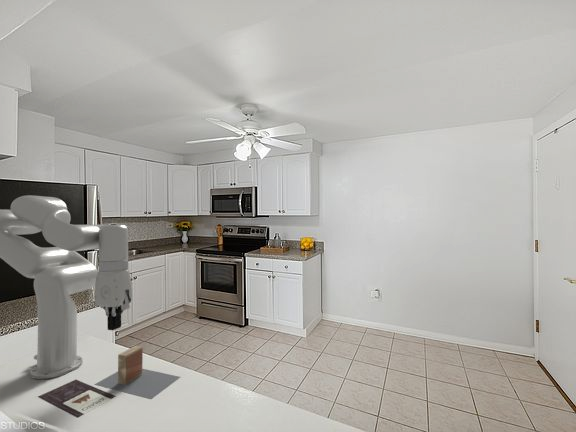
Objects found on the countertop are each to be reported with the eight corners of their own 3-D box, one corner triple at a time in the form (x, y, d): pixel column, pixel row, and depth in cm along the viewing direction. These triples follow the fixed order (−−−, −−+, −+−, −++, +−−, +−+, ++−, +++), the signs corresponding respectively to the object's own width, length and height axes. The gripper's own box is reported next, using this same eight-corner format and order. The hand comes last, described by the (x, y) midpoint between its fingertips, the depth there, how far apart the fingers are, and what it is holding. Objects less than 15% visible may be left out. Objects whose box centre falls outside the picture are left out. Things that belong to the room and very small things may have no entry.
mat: (94, 386, 80) (94, 384, 80) (128, 367, 90) (128, 365, 90) (151, 401, 73) (151, 399, 73) (180, 378, 84) (180, 376, 84)
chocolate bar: (75, 379, 82) (115, 396, 74) (75, 382, 82) (115, 399, 74) (37, 396, 74) (77, 417, 66) (37, 400, 74) (77, 421, 66)
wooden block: (118, 383, 80) (118, 354, 80) (135, 372, 86) (136, 345, 86) (125, 385, 79) (125, 355, 79) (142, 374, 85) (143, 346, 85)
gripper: (83, 267, 84) (83, 330, 84) (121, 269, 79) (122, 336, 79) (107, 263, 91) (107, 321, 91) (143, 265, 87) (144, 326, 86)
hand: (114, 328), depth 85 cm, fingers closed
